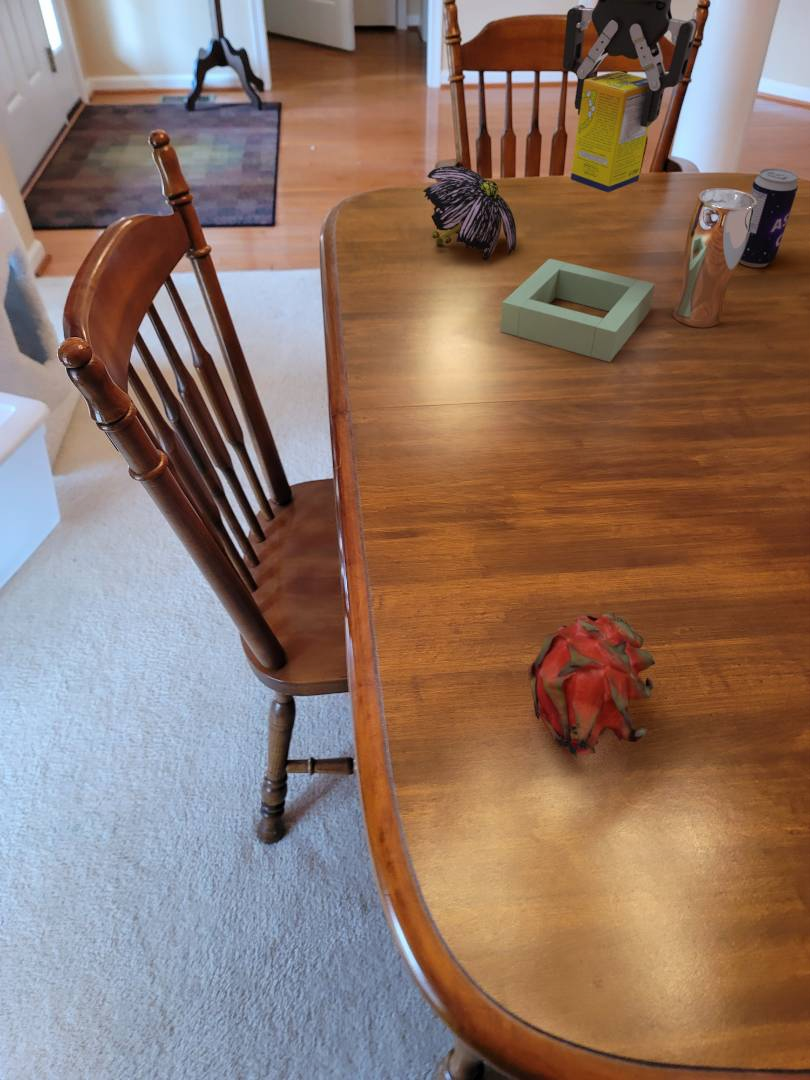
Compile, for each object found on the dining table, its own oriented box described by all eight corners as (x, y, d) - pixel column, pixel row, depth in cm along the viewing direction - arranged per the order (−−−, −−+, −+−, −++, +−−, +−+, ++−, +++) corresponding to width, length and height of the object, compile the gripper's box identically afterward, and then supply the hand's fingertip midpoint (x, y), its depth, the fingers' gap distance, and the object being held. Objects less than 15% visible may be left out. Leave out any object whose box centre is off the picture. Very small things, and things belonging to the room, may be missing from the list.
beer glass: (727, 332, 104) (762, 211, 94) (670, 327, 105) (699, 207, 95) (721, 306, 109) (754, 189, 99) (667, 301, 110) (694, 185, 100)
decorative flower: (501, 208, 108) (419, 147, 112) (461, 286, 115) (385, 227, 119) (551, 206, 119) (475, 151, 123) (512, 278, 126) (441, 224, 130)
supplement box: (599, 168, 103) (615, 69, 95) (639, 182, 100) (659, 80, 92) (568, 179, 100) (582, 78, 92) (608, 194, 97) (626, 90, 89)
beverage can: (762, 273, 116) (790, 185, 108) (725, 261, 119) (749, 174, 111) (780, 260, 119) (808, 174, 111) (743, 249, 122) (767, 164, 114)
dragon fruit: (608, 662, 67) (568, 797, 60) (529, 602, 65) (479, 734, 58) (689, 634, 60) (655, 781, 54) (605, 566, 59) (558, 710, 52)
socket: (648, 312, 108) (655, 283, 105) (609, 362, 99) (615, 331, 96) (545, 286, 113) (549, 258, 110) (499, 331, 104) (502, 301, 101)
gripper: (725, -56, 84) (685, 122, 95) (591, -68, 89) (568, 101, 100) (703, -46, 79) (664, 139, 90) (563, -60, 84) (542, 117, 95)
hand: (614, 119), depth 95 cm, fingers closed on supplement box, 7 cm apart
